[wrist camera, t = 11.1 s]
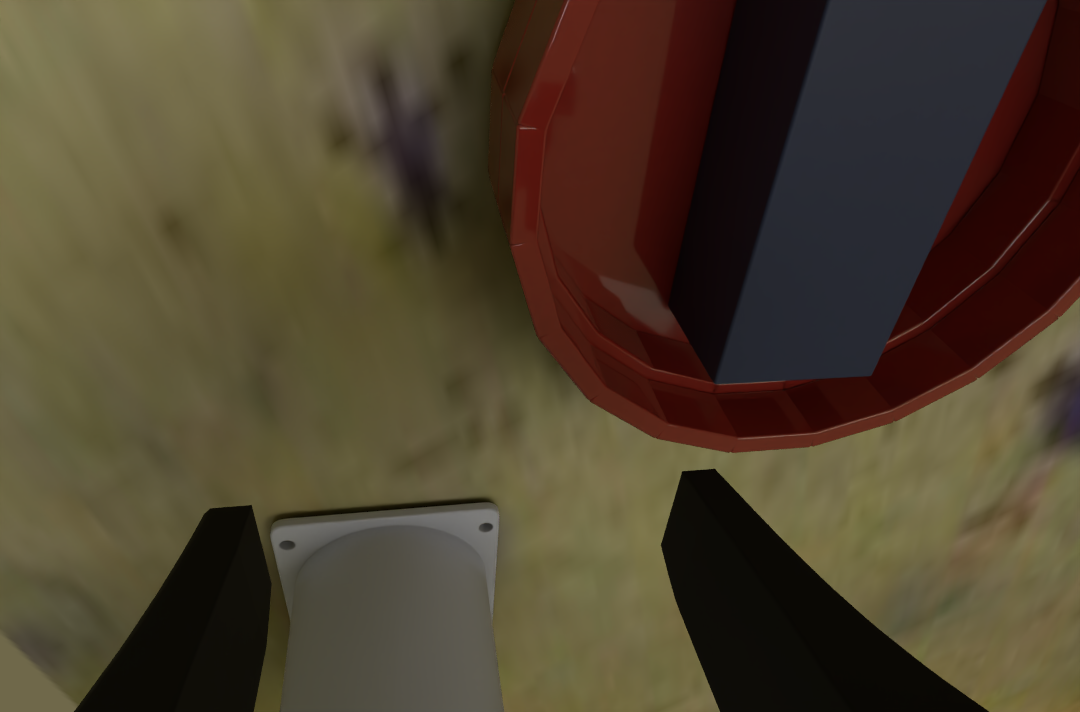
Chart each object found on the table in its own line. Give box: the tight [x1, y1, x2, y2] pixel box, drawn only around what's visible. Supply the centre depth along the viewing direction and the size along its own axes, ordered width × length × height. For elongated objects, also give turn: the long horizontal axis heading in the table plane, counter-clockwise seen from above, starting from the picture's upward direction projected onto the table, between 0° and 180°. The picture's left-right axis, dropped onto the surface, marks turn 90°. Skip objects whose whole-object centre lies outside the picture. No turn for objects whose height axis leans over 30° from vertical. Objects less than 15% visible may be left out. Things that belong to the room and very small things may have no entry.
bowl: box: [488, 0, 1080, 453], centre depth 17 cm, size 16×16×4 cm
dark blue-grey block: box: [668, 0, 1047, 384], centre depth 16 cm, size 11×5×4 cm, turn 175°
